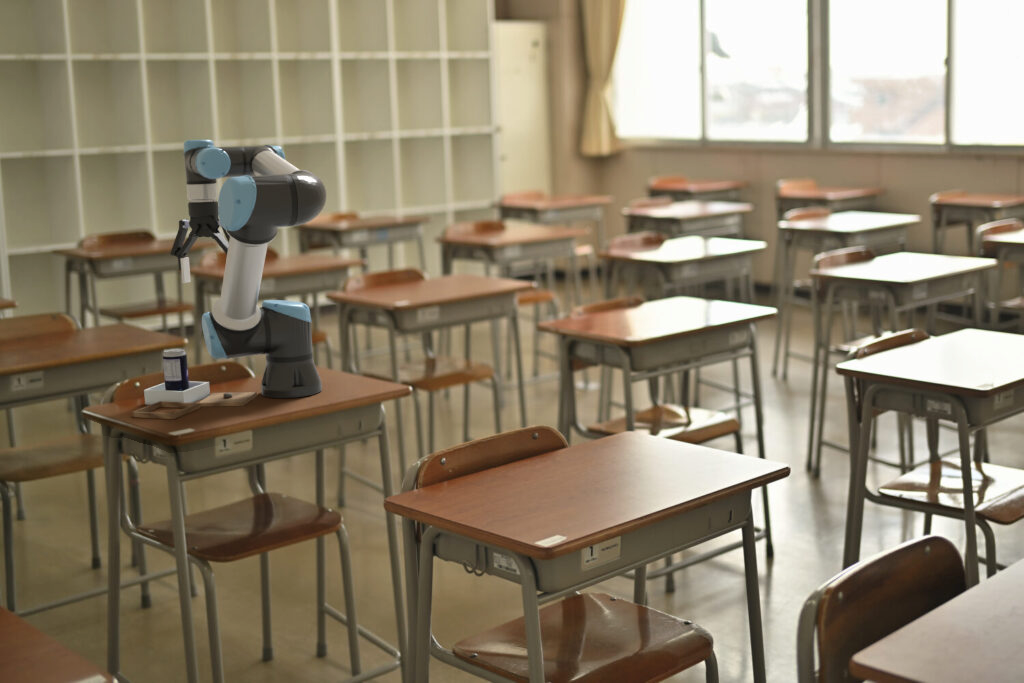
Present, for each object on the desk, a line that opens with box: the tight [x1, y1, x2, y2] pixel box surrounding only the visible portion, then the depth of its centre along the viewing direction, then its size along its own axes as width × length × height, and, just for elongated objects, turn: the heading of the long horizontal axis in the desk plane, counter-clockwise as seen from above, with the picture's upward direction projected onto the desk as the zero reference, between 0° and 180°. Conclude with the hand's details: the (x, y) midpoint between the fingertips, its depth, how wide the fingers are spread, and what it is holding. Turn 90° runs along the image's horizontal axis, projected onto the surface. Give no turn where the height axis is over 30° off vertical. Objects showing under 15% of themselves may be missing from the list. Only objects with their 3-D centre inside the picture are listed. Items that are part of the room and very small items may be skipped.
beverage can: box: [162, 347, 190, 391], centre depth 292 cm, size 6×6×12 cm
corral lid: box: [198, 391, 257, 407], centre depth 291 cm, size 11×11×2 cm
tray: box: [143, 380, 211, 406], centre depth 293 cm, size 11×11×4 cm
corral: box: [131, 401, 201, 420], centre depth 281 cm, size 11×11×1 cm
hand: (209, 283), depth 307 cm, fingers open, 13 cm apart
